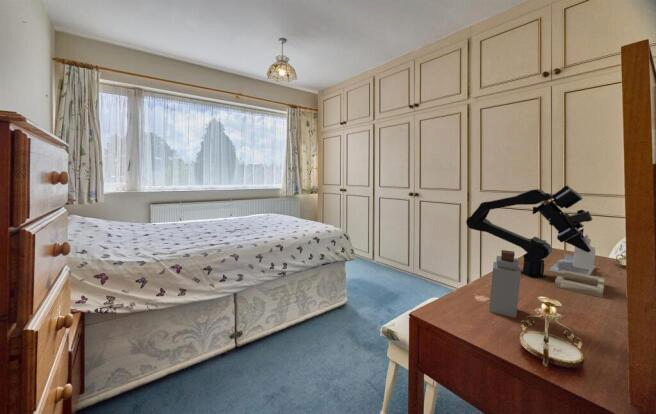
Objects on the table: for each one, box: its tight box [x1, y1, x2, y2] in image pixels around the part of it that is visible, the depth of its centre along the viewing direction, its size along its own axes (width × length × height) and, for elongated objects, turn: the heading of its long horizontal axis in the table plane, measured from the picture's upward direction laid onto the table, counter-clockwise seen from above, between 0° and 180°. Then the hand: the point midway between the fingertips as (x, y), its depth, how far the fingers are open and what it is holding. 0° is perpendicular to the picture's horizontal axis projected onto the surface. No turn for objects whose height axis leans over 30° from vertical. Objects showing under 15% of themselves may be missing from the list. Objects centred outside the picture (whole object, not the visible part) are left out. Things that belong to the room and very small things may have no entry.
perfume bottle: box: [488, 249, 522, 319], centre depth 86 cm, size 7×7×18 cm
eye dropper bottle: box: [572, 234, 596, 270], centre depth 104 cm, size 4×6×12 cm
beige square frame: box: [554, 270, 605, 298], centre depth 106 cm, size 16×13×2 cm
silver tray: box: [549, 253, 596, 275], centre depth 123 cm, size 12×20×4 cm, turn 132°
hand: (589, 250), depth 103 cm, fingers closed on eye dropper bottle, 3 cm apart
